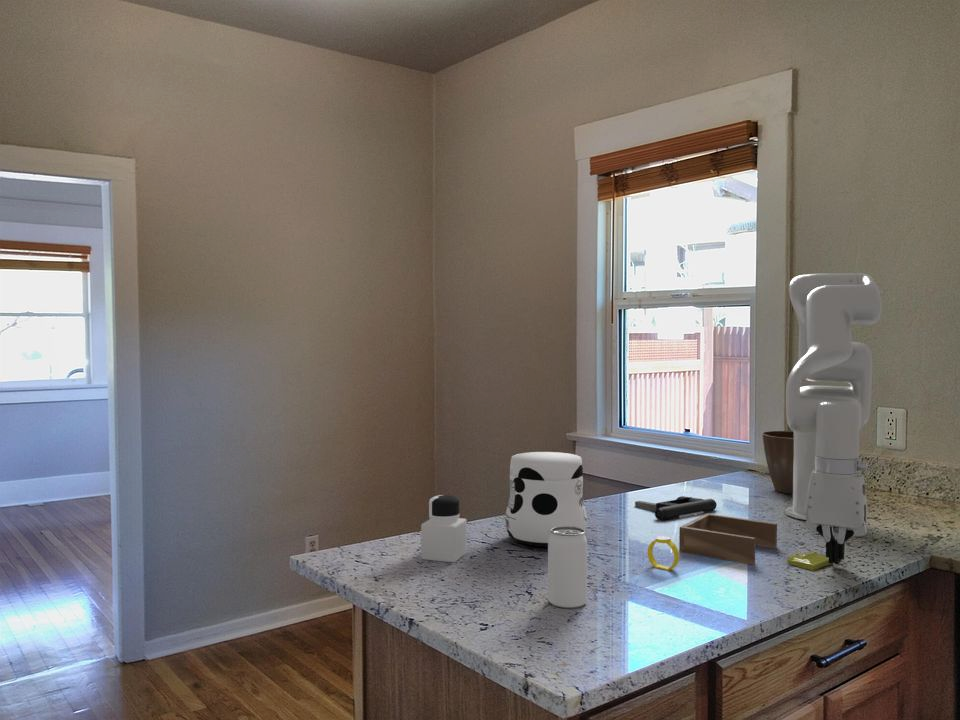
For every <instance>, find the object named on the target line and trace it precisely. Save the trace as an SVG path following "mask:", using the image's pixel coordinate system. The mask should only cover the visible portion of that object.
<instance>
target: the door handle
mask: <svg viewBox="0 0 960 720" xmlns="http://www.w3.org/2000/svg"><path fill="white" fill-rule="evenodd" d="M717 505H718V504H717V501H715V499H714V498H713V499H712V498H706V499H702V498H696V497H692V496H691V497H690V496H678V497H677V498H676V499H673V500H672V499H671V500H667V501H661V502H656V503H655V502H648V501H643V500H637V501H634V507H636V508H639V509H642V510H646V511H651V512H654V516H655V518H656V519H657V520H660V521H665V520H669V519H671V520H672V519H675V518H676V517H678V519H682V518H681V517H684V518H686V517H685V516H689V517H691V516H690V515H694V516H696V515H695V514H699V515H703V514H704V513H708V512H712V511H715V510H716V509H717ZM702 513H703V514H702Z"/></svg>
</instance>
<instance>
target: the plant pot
mask: <svg viewBox="0 0 960 720" xmlns="http://www.w3.org/2000/svg"><path fill="white" fill-rule="evenodd" d="M761 434H762V435H761V436H762V443H763V451H764V455H765V460H766V464H767V465H766V466H767V470H768V472H769V476H770V479H771V482H772V484H773V487H774V490H775V492H779V493H783V494H791V495H793V462H794V431H793V430H772V431H771V430H769V431H763V432H762V433H761Z"/></svg>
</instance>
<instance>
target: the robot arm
mask: <svg viewBox="0 0 960 720" xmlns="http://www.w3.org/2000/svg"><path fill="white" fill-rule="evenodd" d="M788 289H789V298H790V302H791V305H792V308H793V309H794V313H795V315H796V317H797V322H798V327H799V328H798V329H799V330H798V331H799V332H798V361H797V362H796V363H795V364H794V366H793V368H792V369H791V371H790V373H789V375H788V377H787V380H786V384H785V385H786V386H785V417H786V423H787V425H788V428H789V429H790V431H794V462H793V494H792V506H787V507H786V509H785V514H786V516H787V515H788V516H789V517H791V518H794V519H798V520H802V521H803V520H804V521H805V525H804V526H805V527H806V528H808V529H810V530H812V531H816V532H817V533H818V535H819V534H820V536H821V537H822V538H823V541H825V557H827V558H829V563H831V564H830V565H833V564H834V565H837V566H838V565H839V564H840V563H841V561H843V560H844V559H845V552H846V551H845V546H846V544H845V542H847V541H848V540H849V539H851V538H852V537H863V536H865V535H867V533H868V531H867V526H866V524H867V521H868V504H867V503H868V501H867V490H866V489H867V488H866V487H867V486H866V482H865V477H864V475H863V474H862V473H859V472H861V471H867V470H868V463H867V462H863V461H862V460H861V458H860V430H861V429H862V428H863V427H864V425H866V424H867V423H868V421H869V419H870V417H871V407H872V406H871V405H872V404H871V403H872V387H873V356H872V352H871V351H872V350H871V349H870V347H869V346H868V345H867V344H865V343H863V342H858V341H853V340H852V339H853V338H852V337H853V336H852V325H853V326H854V325H856V326H857V325H861V326H864V325H870V326H871V325H874V324H876V323H878V322H879V320H880V319H881V317H882V313H883V312H882V311H883V301H882V300H883V299H882V295H881V291H880V289H879V286H878V284H877V283H876V281H875V280H874V278H873V277H872V275H870V274H868V273H861V272H853V273H852V272H849V273H830V272H829V273H808V274H807V273H806V274H800V275H797V276H794V277H793V278H792V279H791V281H790V283H789V288H788ZM804 381H809V382H819V383H820V382H821V383H824V382H826V383H828V382H829V383H848V384H849V385H850V386H843V385H842V386H840V385H839V386H838V385H835V386H834V385H804V386H802V383H803V382H804ZM834 528H838V533H837V538H836V537H835V536H834ZM835 538H836V539H835Z"/></svg>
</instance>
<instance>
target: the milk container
mask: <svg viewBox="0 0 960 720" xmlns="http://www.w3.org/2000/svg"><path fill="white" fill-rule="evenodd" d="M583 470H584V469H583V460H582V456H580V455H577V454H575V453H569V452H568V453H567V452H558V451H555V452H554V451H530V452H522V453H517V454H514V455H512V456H511V458H510V465H509V499H508V503H507V506H506V511H505V521H504V522H505V527H506V532H507V534H508V536H509V537H510V538H511V539H513V540H514V541H516V542H519V543H520V544H524V545H530V546H535V547H548V539H549V536H550V534H551V529H553V528H555V527H564V526H568V527H577V528H581V529H583V530H584V531H585V533H584V534H586V532H587V531H586V530H587V523H588V517H587V510H586V507H585V503H584V497H583V492H584V491H583V489H584V488H583V487H584V477H583Z"/></svg>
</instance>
